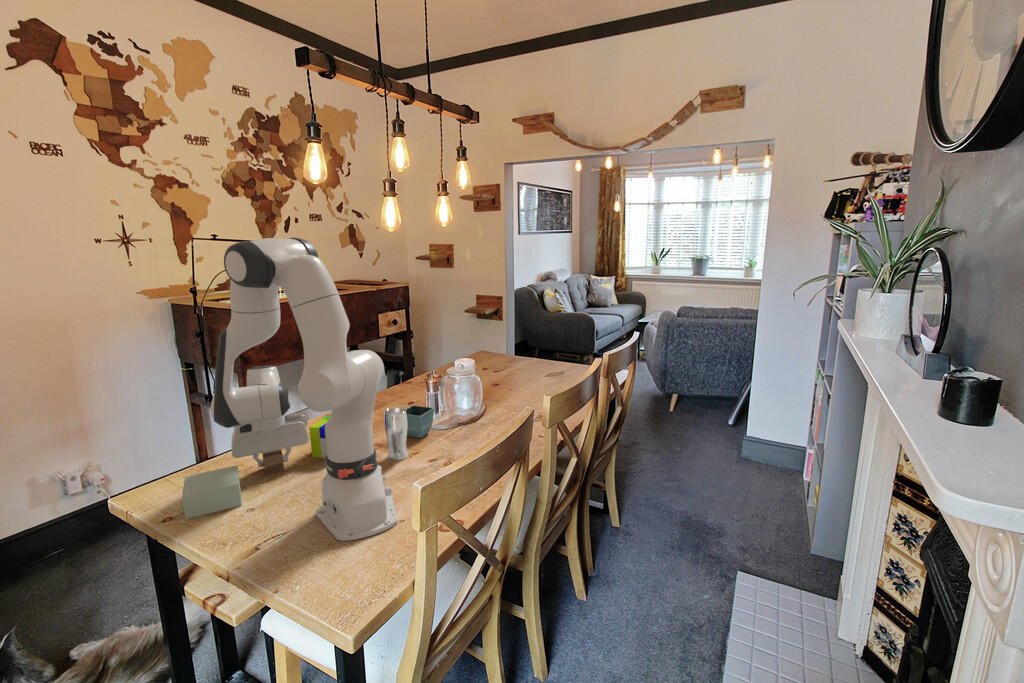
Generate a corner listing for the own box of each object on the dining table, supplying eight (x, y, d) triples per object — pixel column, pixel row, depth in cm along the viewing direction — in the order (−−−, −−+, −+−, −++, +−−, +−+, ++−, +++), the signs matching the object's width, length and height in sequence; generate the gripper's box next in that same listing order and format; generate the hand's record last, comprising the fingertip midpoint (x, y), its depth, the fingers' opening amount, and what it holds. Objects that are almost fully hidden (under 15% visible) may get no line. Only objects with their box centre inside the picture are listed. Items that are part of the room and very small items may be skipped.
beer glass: (384, 454, 153) (381, 408, 150) (407, 450, 156) (404, 405, 153) (388, 463, 147) (385, 416, 144) (411, 458, 149) (409, 412, 146)
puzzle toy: (341, 459, 149) (338, 429, 147) (312, 457, 151) (309, 427, 149) (357, 446, 159) (355, 417, 157) (330, 444, 161) (327, 415, 159)
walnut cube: (284, 470, 143) (282, 454, 142) (265, 474, 140) (263, 458, 139) (282, 463, 147) (280, 448, 146) (264, 467, 145) (262, 452, 144)
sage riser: (241, 505, 124) (238, 483, 123) (185, 519, 118) (181, 496, 117) (240, 485, 134) (237, 465, 133) (188, 497, 128) (185, 476, 127)
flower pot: (399, 438, 165) (398, 413, 163) (414, 428, 173) (412, 404, 171) (421, 441, 162) (420, 416, 160) (435, 432, 170) (434, 407, 168)
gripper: (305, 409, 148) (309, 451, 151) (228, 422, 138) (234, 467, 141) (308, 416, 143) (312, 459, 146) (228, 430, 133) (234, 476, 136)
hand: (273, 463), depth 143 cm, fingers closed on walnut cube, 5 cm apart
